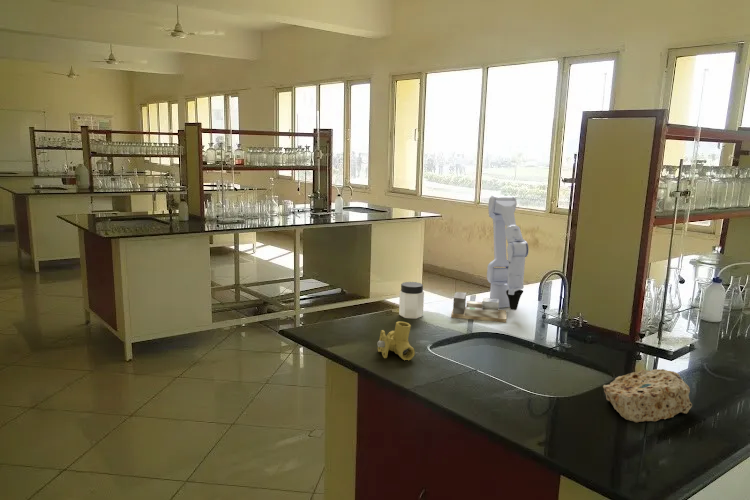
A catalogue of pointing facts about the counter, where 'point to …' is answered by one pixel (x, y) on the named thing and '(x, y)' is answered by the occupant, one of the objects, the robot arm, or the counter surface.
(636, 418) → the rock
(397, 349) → the ball valve
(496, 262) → the robot arm
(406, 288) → the jar
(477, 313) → the stand
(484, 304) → the grey box
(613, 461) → the counter surface
